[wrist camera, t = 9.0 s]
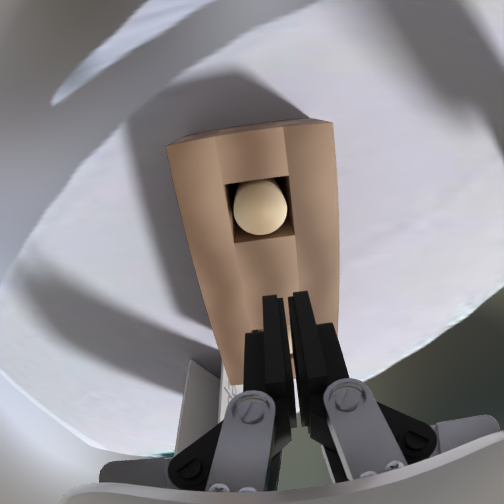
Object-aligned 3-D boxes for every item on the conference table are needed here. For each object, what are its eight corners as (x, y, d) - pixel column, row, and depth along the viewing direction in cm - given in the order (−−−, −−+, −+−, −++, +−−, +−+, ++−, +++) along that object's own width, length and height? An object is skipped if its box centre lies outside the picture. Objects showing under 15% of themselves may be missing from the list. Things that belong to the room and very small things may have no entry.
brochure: (256, 403, 46) (262, 569, 20) (226, 408, 47) (222, 568, 21) (224, 352, 40) (214, 570, 14) (189, 359, 41) (162, 563, 14)
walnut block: (309, 118, 26) (332, 122, 19) (321, 326, 38) (334, 371, 31) (186, 135, 27) (165, 146, 20) (232, 338, 39) (230, 385, 32)
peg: (274, 162, 28) (284, 181, 21) (279, 201, 30) (289, 231, 23) (233, 168, 28) (229, 189, 21) (239, 206, 30) (238, 238, 23)
